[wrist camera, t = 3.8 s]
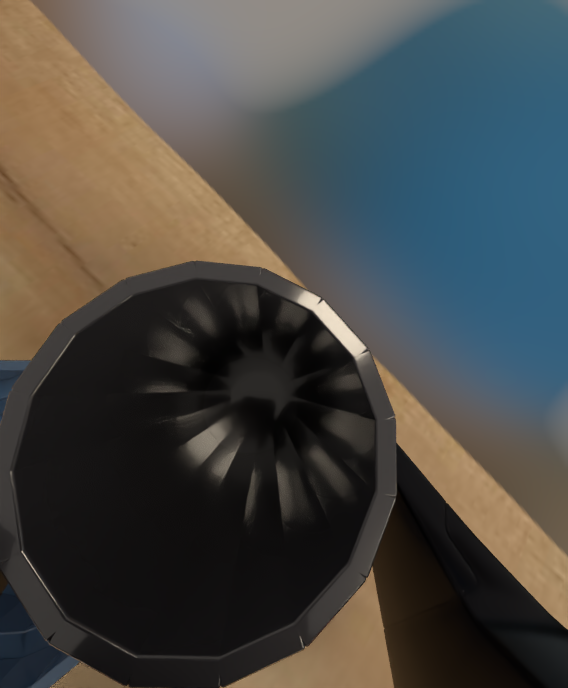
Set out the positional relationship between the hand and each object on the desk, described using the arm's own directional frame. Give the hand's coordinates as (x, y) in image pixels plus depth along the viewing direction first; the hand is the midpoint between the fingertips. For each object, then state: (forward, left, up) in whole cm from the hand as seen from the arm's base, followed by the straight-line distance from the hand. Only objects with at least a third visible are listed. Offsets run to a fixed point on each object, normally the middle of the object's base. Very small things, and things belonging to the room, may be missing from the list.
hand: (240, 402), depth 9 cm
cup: (0, 0, -7) cm, 8 cm away
